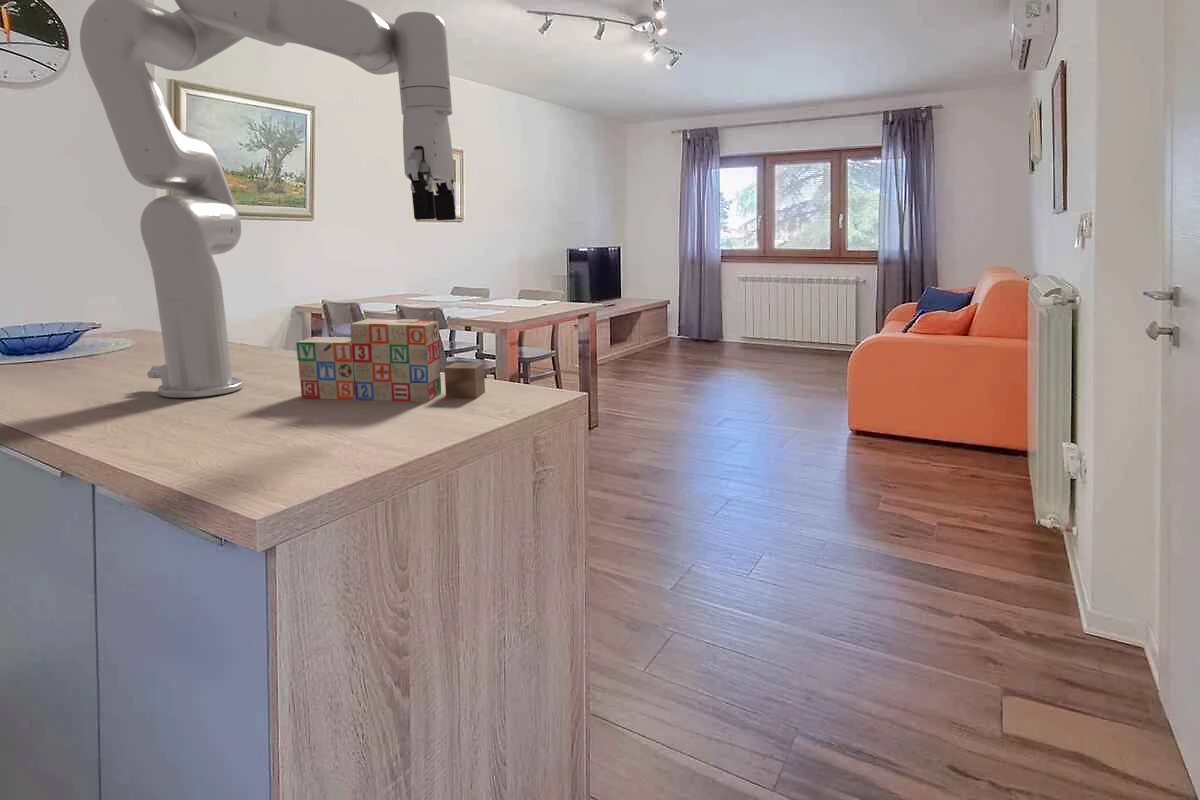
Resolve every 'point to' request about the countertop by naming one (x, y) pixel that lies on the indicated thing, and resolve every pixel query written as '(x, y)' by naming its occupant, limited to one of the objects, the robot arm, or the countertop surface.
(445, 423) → the countertop surface
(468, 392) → the walnut cube
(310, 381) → the stack of blocks
